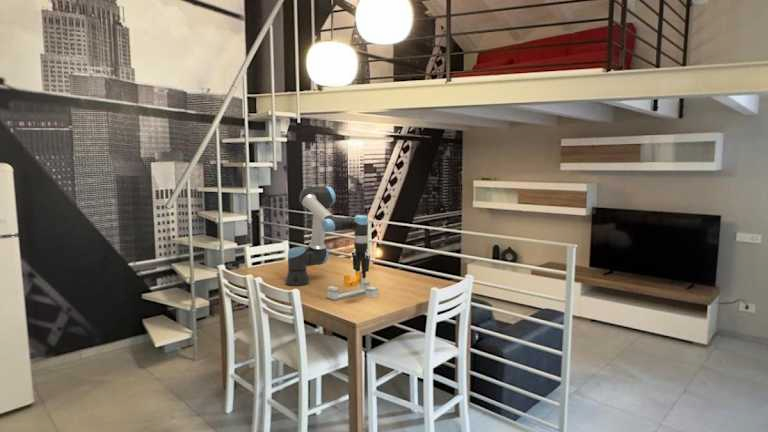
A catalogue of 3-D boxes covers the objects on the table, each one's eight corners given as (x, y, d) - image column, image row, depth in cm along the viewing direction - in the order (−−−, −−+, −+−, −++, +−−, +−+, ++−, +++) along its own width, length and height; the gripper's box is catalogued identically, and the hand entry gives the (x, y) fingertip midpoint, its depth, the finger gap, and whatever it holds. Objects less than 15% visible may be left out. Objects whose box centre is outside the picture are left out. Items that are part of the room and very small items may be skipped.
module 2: (359, 289, 303) (359, 280, 303) (362, 288, 306) (362, 279, 305) (366, 291, 299) (366, 281, 299) (369, 290, 301) (369, 280, 301)
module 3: (365, 296, 292) (365, 288, 291) (370, 294, 296) (370, 286, 295) (372, 297, 289) (372, 289, 288) (377, 295, 293) (377, 287, 292)
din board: (326, 298, 286) (326, 296, 286) (361, 290, 306) (361, 288, 306) (335, 301, 281) (335, 298, 281) (370, 292, 301) (370, 290, 301)
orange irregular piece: (348, 287, 273) (349, 276, 273) (343, 286, 276) (343, 274, 275) (364, 284, 282) (364, 272, 282) (358, 282, 285) (358, 271, 284)
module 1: (327, 297, 286) (327, 286, 285) (331, 296, 288) (331, 286, 287) (334, 299, 281) (334, 288, 281) (338, 298, 284) (338, 287, 283)
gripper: (346, 241, 285) (346, 281, 287) (365, 244, 273) (365, 286, 276) (356, 240, 290) (356, 279, 293) (375, 243, 279) (375, 284, 281)
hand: (360, 282), depth 284 cm, fingers closed on orange irregular piece, 3 cm apart
